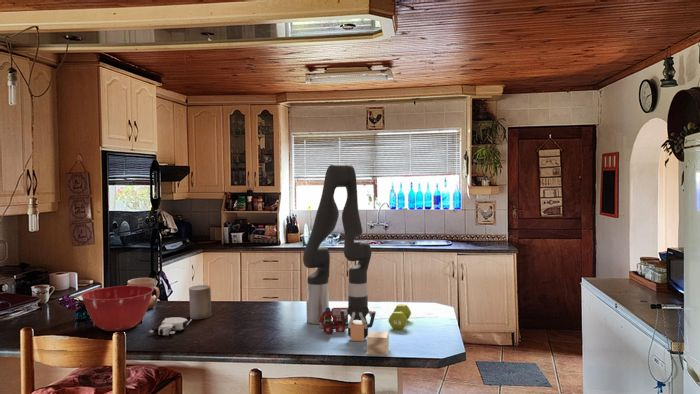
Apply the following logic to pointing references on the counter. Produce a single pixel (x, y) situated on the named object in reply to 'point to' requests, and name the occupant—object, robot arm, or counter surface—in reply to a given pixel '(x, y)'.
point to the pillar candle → (200, 302)
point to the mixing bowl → (117, 306)
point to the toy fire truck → (329, 324)
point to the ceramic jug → (148, 283)
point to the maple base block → (377, 342)
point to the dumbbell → (399, 317)
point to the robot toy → (171, 325)
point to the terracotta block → (357, 331)
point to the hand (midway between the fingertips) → (358, 336)
